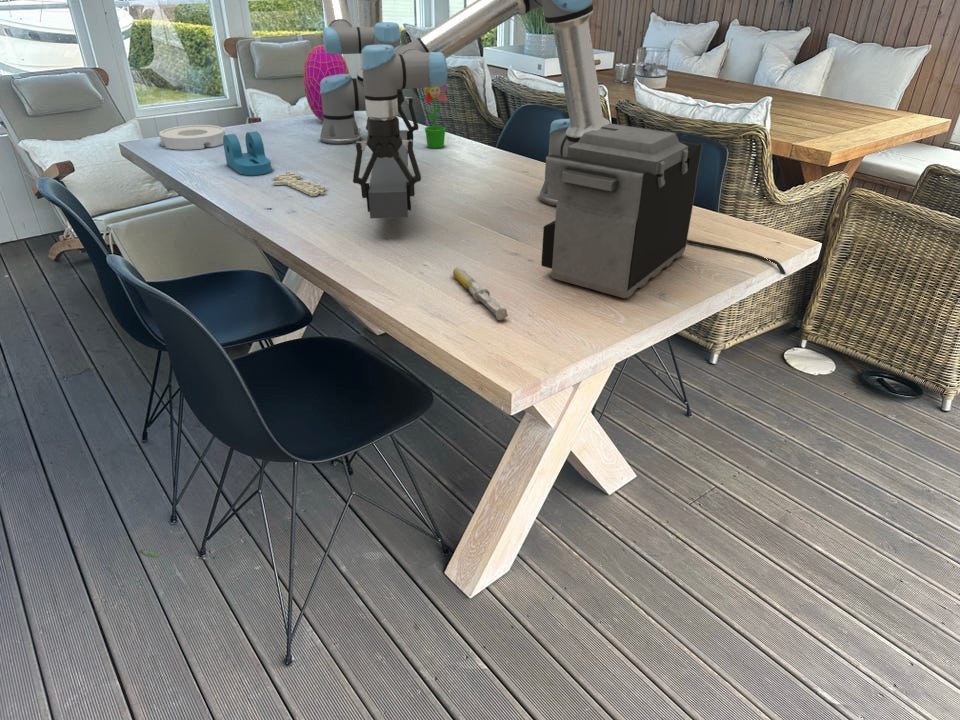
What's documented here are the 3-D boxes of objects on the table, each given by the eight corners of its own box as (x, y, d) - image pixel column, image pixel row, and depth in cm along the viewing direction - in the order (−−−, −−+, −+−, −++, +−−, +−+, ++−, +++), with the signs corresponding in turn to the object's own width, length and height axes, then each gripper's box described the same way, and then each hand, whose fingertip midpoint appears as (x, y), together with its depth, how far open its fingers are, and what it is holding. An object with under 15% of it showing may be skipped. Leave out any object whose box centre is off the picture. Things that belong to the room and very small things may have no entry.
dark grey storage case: (608, 233, 179) (621, 113, 163) (689, 253, 168) (712, 126, 152) (533, 279, 153) (540, 141, 138) (624, 305, 142) (643, 159, 127)
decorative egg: (337, 115, 306) (331, 41, 291) (362, 122, 294) (356, 45, 279) (299, 120, 295) (290, 44, 280) (323, 128, 283) (315, 49, 267)
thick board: (407, 217, 170) (406, 191, 166) (370, 218, 169) (368, 192, 166) (408, 150, 227) (407, 130, 224) (380, 150, 227) (378, 130, 223)
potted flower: (429, 149, 253) (427, 77, 241) (420, 145, 259) (418, 74, 247) (452, 147, 257) (451, 75, 245) (443, 142, 263) (442, 72, 250)
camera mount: (227, 164, 233) (221, 132, 227) (257, 160, 238) (252, 129, 233) (244, 176, 220) (239, 143, 215) (276, 172, 225) (271, 139, 220)
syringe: (449, 274, 155) (449, 263, 153) (465, 272, 156) (464, 260, 154) (490, 323, 135) (491, 310, 133) (508, 319, 136) (508, 307, 134)
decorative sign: (262, 176, 218) (290, 170, 223) (262, 179, 218) (291, 173, 224) (303, 195, 201) (333, 189, 206) (303, 198, 201) (333, 192, 207)
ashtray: (176, 134, 270) (174, 124, 268) (235, 135, 269) (233, 125, 267) (150, 149, 250) (147, 137, 248) (213, 150, 249) (211, 139, 247)
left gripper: (425, 76, 215) (427, 149, 227) (354, 76, 213) (360, 149, 225) (425, 80, 209) (427, 155, 220) (352, 80, 207) (358, 155, 219)
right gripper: (428, 112, 166) (432, 203, 177) (336, 114, 164) (346, 206, 176) (429, 119, 159) (433, 212, 171) (333, 121, 158) (344, 215, 169)
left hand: (393, 152), depth 223 cm, fingers closed on thick board, 9 cm apart
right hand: (389, 209), depth 173 cm, fingers closed on thick board, 9 cm apart
